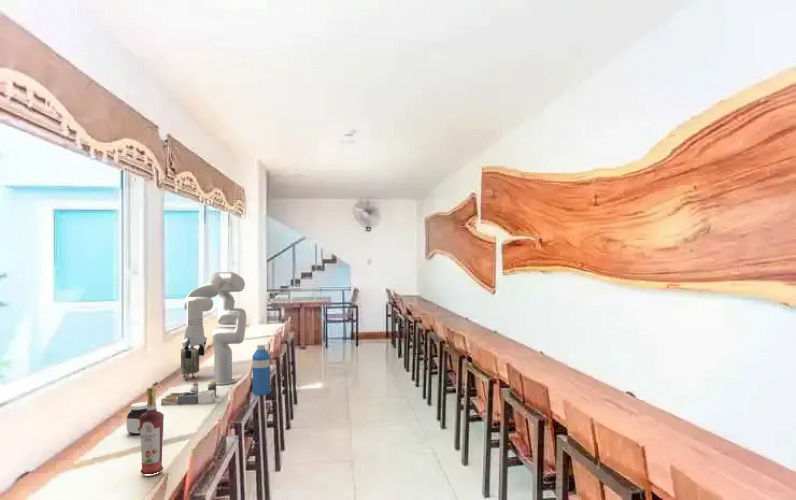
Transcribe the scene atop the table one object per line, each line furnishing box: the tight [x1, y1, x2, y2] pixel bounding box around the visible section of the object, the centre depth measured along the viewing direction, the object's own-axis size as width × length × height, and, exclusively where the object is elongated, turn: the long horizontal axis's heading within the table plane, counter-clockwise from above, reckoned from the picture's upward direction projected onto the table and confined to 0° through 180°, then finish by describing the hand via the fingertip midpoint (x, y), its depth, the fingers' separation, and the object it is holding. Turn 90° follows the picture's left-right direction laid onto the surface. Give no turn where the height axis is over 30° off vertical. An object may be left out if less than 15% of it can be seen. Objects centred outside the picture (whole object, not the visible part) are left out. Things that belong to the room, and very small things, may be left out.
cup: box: [197, 389, 216, 405], centre depth 278 cm, size 6×6×5 cm
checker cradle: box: [178, 391, 200, 406], centre depth 279 cm, size 9×9×4 cm
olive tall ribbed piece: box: [180, 346, 200, 382], centre depth 333 cm, size 14×9×25 cm, turn 25°
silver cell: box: [189, 381, 199, 392], centre depth 289 cm, size 4×4×7 cm
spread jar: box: [125, 401, 148, 437], centre depth 232 cm, size 12×11×12 cm
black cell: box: [207, 381, 217, 398], centre depth 289 cm, size 4×4×7 cm
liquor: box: [139, 386, 165, 475], centre depth 186 cm, size 7×7×28 cm
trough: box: [160, 392, 183, 406], centre depth 280 cm, size 12×8×3 cm, turn 2°
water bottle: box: [252, 344, 271, 396], centre depth 295 cm, size 9×9×25 cm
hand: (194, 356), depth 284 cm, fingers open, 9 cm apart
